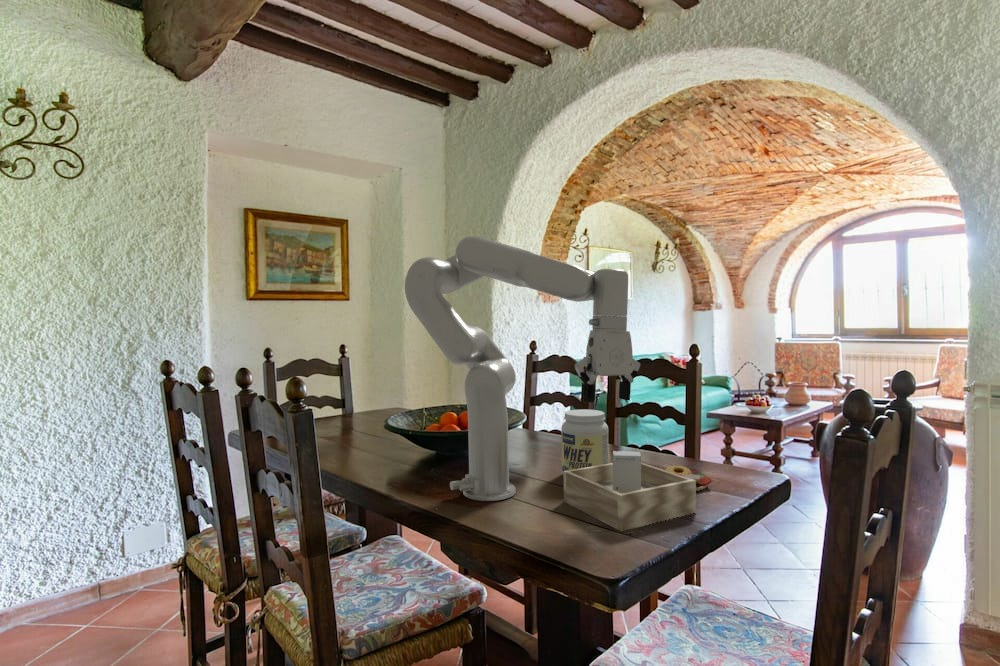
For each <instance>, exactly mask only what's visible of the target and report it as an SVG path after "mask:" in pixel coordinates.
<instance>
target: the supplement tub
mask: <svg viewBox="0 0 1000 666" xmlns="http://www.w3.org/2000/svg"><path fill="white" fill-rule="evenodd" d="M563 417H564V420H565V421H564V422H563V423H562V425H561V427H560V428H561V429H560V431H561V432H560V433H561V474H562V475H563V476H562V477H564V471H568V470H574V469H580V468H585V467H591V466H597V465H603V464H609V426H608V424H607V423H606V422H605V420H606V416H605V412H604V411H602V410H596V409H570V410H566V411H565V412H564V416H563Z"/></svg>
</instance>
